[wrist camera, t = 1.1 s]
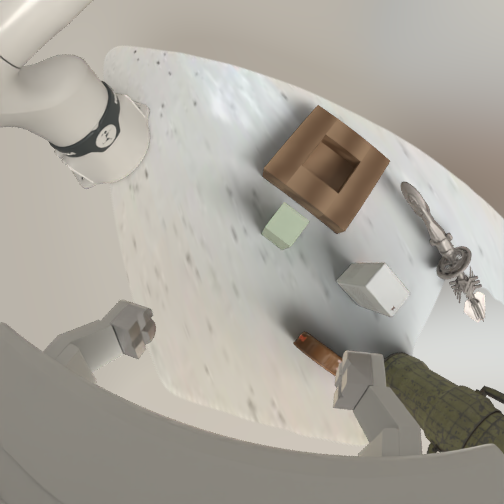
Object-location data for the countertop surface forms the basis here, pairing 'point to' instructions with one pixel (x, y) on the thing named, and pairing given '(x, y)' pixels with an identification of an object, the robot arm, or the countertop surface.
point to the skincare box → (374, 287)
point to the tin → (318, 352)
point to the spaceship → (449, 256)
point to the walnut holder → (327, 169)
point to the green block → (285, 227)
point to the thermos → (445, 406)
